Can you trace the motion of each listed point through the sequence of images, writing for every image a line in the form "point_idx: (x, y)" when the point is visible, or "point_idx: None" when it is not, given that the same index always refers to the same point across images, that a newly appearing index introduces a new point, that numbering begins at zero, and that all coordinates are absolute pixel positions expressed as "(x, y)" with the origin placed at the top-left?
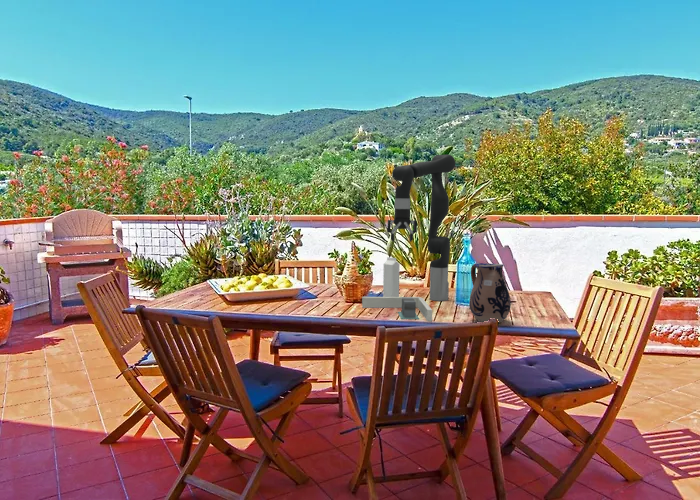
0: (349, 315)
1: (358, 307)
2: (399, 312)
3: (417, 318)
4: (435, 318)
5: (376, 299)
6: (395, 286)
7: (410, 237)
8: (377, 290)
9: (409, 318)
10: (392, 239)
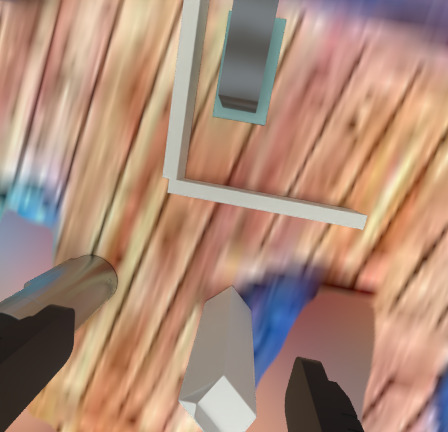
0: (432, 104)
1: None
2: (263, 111)
3: None
4: (175, 16)
5: (316, 205)
6: (214, 318)
7: (20, 343)
8: None
9: None
10: (325, 390)
